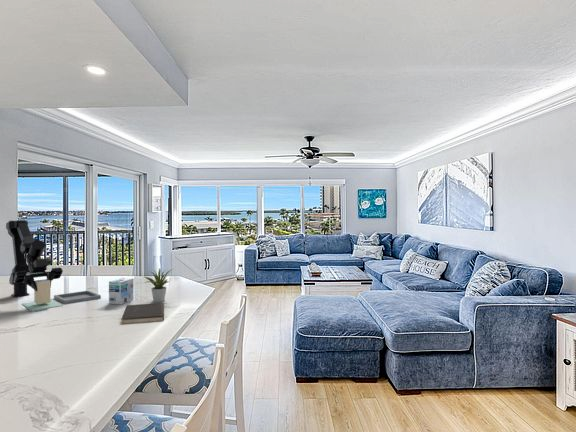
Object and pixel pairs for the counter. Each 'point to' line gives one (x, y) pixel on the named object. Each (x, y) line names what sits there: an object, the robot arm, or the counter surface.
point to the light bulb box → (121, 290)
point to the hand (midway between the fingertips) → (43, 289)
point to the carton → (42, 292)
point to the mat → (41, 306)
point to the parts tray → (77, 297)
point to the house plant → (158, 286)
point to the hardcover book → (143, 313)
